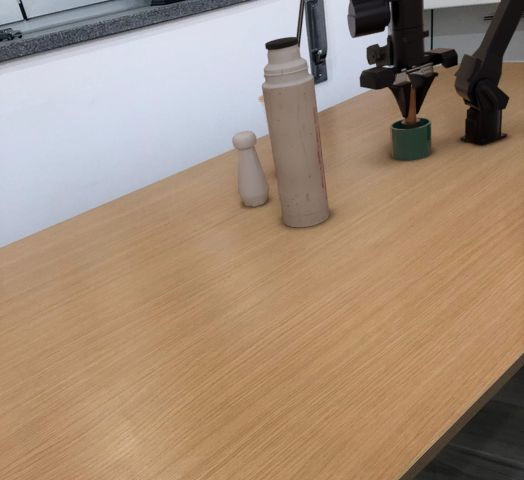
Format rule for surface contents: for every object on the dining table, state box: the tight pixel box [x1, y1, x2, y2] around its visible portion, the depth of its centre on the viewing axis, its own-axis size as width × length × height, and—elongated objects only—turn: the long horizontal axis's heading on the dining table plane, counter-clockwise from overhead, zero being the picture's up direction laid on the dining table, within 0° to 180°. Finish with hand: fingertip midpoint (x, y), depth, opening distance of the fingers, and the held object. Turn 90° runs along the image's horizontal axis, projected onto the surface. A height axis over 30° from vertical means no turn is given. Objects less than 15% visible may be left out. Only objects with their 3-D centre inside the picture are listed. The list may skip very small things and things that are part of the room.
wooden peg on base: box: [401, 86, 420, 129], centre depth 117 cm, size 4×4×10 cm
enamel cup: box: [389, 116, 433, 162], centre depth 119 cm, size 8×8×6 cm
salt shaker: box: [231, 130, 270, 208], centre depth 110 cm, size 6×6×13 cm
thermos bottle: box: [261, 36, 330, 228], centre depth 96 cm, size 8×8×28 cm
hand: (410, 115), depth 117 cm, fingers closed on wooden peg on base, 2 cm apart
